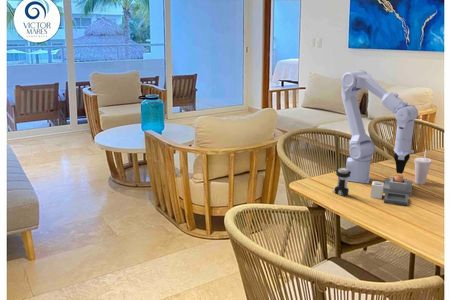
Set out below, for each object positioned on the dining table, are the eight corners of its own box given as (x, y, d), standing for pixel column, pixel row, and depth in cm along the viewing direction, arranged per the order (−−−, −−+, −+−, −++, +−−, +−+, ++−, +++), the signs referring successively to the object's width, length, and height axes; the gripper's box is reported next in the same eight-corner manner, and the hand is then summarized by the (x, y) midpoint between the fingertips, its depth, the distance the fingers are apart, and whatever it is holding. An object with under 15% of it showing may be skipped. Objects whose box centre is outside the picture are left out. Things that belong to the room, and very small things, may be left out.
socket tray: (383, 202, 170) (384, 199, 170) (385, 195, 177) (385, 191, 177) (407, 206, 168) (407, 202, 167) (408, 198, 175) (408, 194, 174)
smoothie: (430, 186, 187) (434, 152, 183) (412, 184, 188) (417, 151, 184) (426, 180, 193) (431, 147, 189) (410, 179, 194) (414, 146, 190)
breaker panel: (382, 192, 180) (384, 181, 178) (385, 182, 190) (386, 172, 189) (411, 196, 176) (412, 185, 175) (411, 186, 187) (413, 175, 185)
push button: (328, 193, 178) (330, 168, 175) (335, 189, 182) (337, 165, 179) (344, 198, 174) (347, 172, 171) (351, 194, 178) (353, 169, 175)
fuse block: (370, 197, 175) (371, 183, 174) (371, 193, 179) (372, 180, 177) (381, 199, 174) (383, 185, 172) (382, 195, 177) (384, 181, 176)
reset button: (394, 183, 179) (394, 177, 178) (394, 181, 182) (395, 174, 181) (402, 184, 178) (403, 178, 177) (402, 182, 181) (403, 175, 180)
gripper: (415, 144, 167) (410, 180, 171) (415, 134, 180) (411, 168, 184) (394, 142, 169) (390, 177, 173) (396, 132, 182) (392, 166, 186)
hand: (399, 172), depth 179 cm, fingers closed
